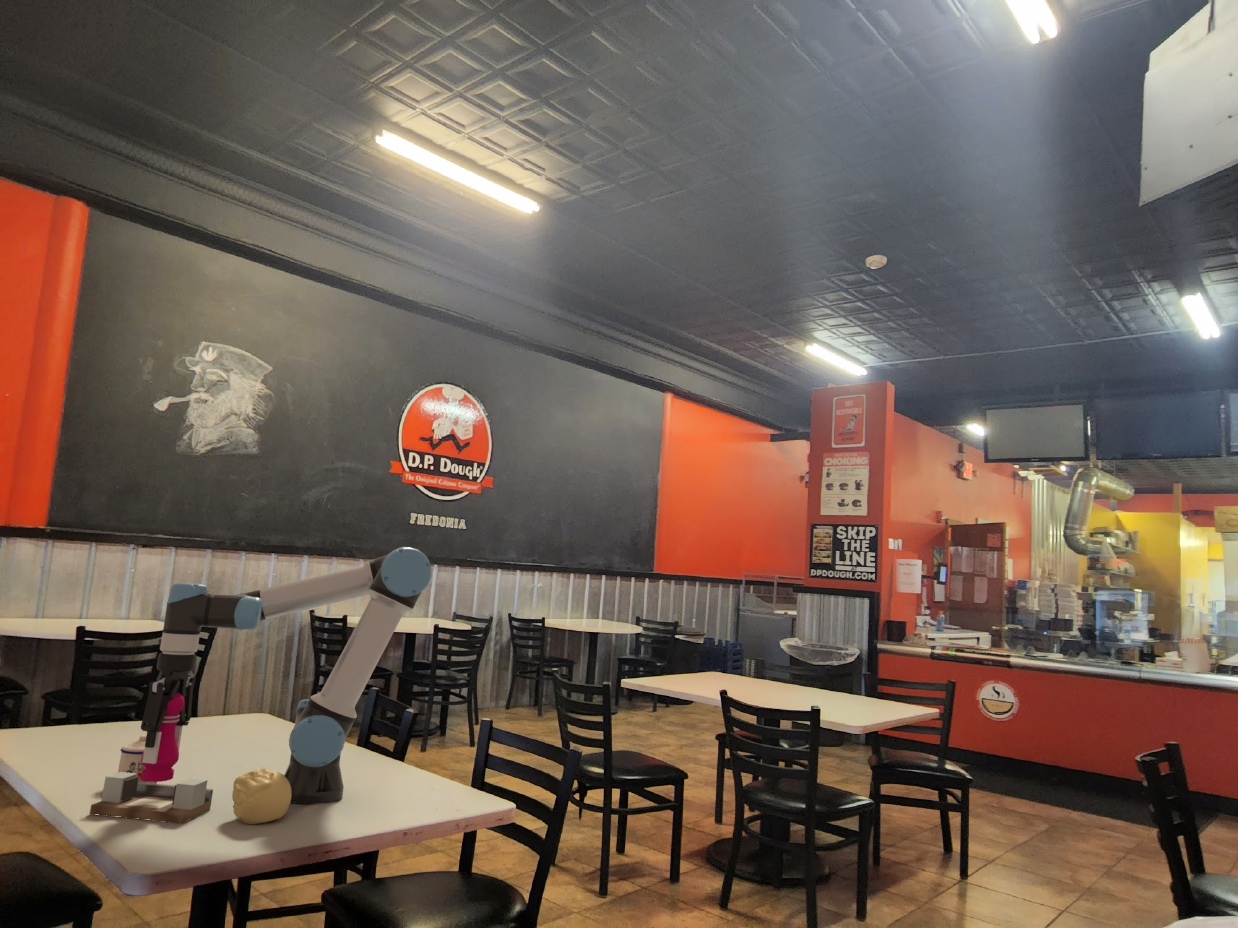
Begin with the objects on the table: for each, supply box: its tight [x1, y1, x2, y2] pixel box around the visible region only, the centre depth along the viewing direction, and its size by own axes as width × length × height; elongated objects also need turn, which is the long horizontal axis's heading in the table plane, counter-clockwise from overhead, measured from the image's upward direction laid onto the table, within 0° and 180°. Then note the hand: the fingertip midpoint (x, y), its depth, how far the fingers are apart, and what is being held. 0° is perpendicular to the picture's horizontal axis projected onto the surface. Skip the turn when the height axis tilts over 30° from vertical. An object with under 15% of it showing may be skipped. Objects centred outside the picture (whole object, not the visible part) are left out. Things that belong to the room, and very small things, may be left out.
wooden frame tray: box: [89, 795, 212, 824], centre depth 174 cm, size 20×11×2 cm, turn 87°
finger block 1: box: [101, 772, 139, 803], centre depth 175 cm, size 5×5×5 cm
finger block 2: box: [172, 778, 208, 810], centre depth 174 cm, size 5×5×5 cm
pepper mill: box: [141, 693, 185, 783], centre depth 177 cm, size 7×7×20 cm
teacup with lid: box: [117, 734, 158, 784], centre depth 196 cm, size 12×9×12 cm
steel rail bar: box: [136, 782, 214, 802], centre depth 180 cm, size 20×1×2 cm, turn 87°
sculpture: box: [231, 767, 292, 825], centre depth 176 cm, size 12×12×11 cm
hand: (160, 758), depth 176 cm, fingers closed on pepper mill, 7 cm apart
